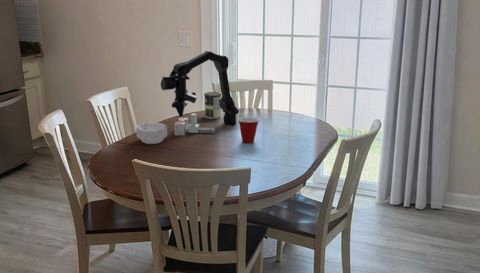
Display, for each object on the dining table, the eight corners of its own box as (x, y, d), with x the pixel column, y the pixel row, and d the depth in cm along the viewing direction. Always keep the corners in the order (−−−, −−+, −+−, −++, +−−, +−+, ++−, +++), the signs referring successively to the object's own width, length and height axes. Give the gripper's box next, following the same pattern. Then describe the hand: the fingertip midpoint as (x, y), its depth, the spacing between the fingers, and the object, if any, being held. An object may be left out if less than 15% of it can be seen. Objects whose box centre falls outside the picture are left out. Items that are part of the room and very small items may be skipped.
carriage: (199, 130, 266) (199, 113, 263) (197, 132, 261) (197, 115, 258) (190, 129, 266) (189, 113, 263) (188, 132, 261) (188, 115, 259)
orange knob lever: (185, 128, 265) (185, 120, 264) (184, 130, 262) (184, 121, 261) (179, 128, 266) (178, 119, 264) (177, 130, 262) (177, 121, 261)
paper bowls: (167, 145, 241) (167, 129, 238) (136, 146, 238) (135, 130, 236) (167, 136, 255) (166, 121, 253) (137, 137, 253) (136, 122, 250)
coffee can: (204, 118, 291) (204, 95, 287) (204, 114, 301) (203, 92, 297) (222, 118, 292) (222, 95, 288) (220, 114, 302) (220, 91, 298)
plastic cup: (259, 139, 253) (260, 116, 250) (258, 145, 243) (258, 121, 239) (238, 138, 254) (238, 115, 251) (236, 144, 244) (236, 121, 240)
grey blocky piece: (188, 128, 271) (188, 117, 269) (184, 135, 257) (183, 124, 256) (179, 128, 271) (179, 117, 269) (174, 135, 258) (174, 124, 256)
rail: (214, 131, 264) (214, 128, 264) (213, 133, 262) (213, 129, 261) (187, 131, 265) (187, 127, 265) (186, 132, 262) (186, 129, 262)
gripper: (193, 92, 248) (193, 122, 252) (198, 85, 266) (198, 113, 270) (171, 91, 249) (172, 121, 253) (178, 85, 266) (178, 112, 271)
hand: (181, 117), depth 262 cm, fingers closed
